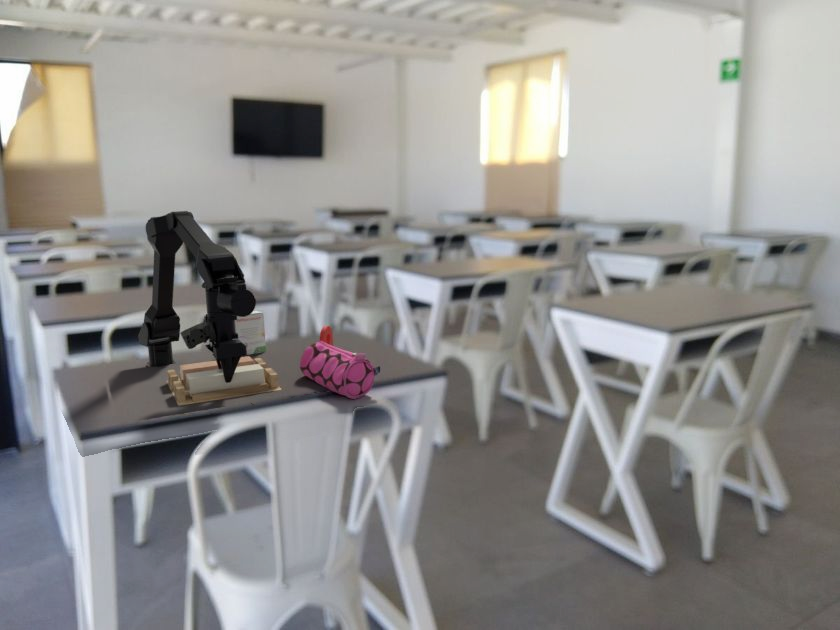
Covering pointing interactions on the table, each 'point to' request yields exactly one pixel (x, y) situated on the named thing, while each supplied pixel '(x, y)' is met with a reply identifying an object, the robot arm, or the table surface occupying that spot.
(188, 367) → the fired brick
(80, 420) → the table surface
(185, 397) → the rack
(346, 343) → the table surface
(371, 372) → the pencil case
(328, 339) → the bracket
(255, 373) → the long ivory plank
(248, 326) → the ink box
